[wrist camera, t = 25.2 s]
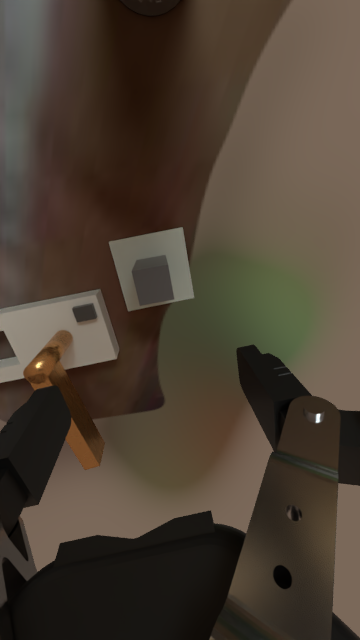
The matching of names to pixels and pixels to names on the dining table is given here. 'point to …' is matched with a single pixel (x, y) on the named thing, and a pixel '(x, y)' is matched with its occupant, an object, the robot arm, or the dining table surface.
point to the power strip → (50, 317)
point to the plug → (152, 280)
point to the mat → (153, 246)
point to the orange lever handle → (67, 399)
